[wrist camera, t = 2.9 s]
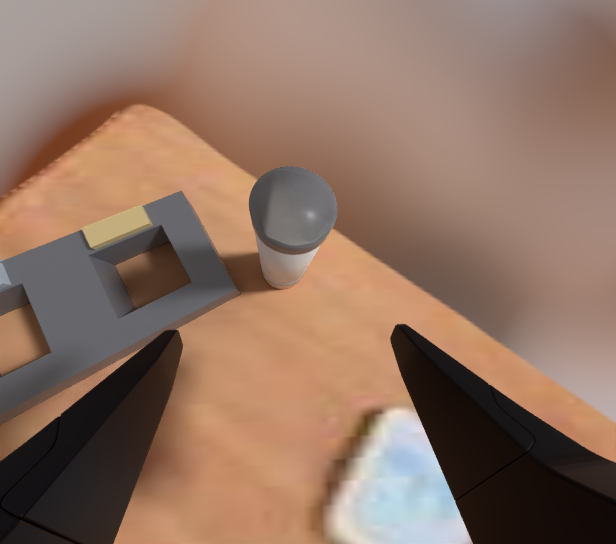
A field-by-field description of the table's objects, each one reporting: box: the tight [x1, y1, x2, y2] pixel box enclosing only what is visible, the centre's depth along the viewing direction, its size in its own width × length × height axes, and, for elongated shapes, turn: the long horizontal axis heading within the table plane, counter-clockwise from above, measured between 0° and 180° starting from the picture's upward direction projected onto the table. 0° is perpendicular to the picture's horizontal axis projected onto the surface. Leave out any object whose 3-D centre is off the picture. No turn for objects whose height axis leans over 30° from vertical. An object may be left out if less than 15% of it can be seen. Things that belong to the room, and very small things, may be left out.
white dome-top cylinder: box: [249, 166, 337, 289], centre depth 16 cm, size 4×4×12 cm
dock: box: [0, 191, 241, 424], centre depth 18 cm, size 21×10×4 cm, turn 121°
